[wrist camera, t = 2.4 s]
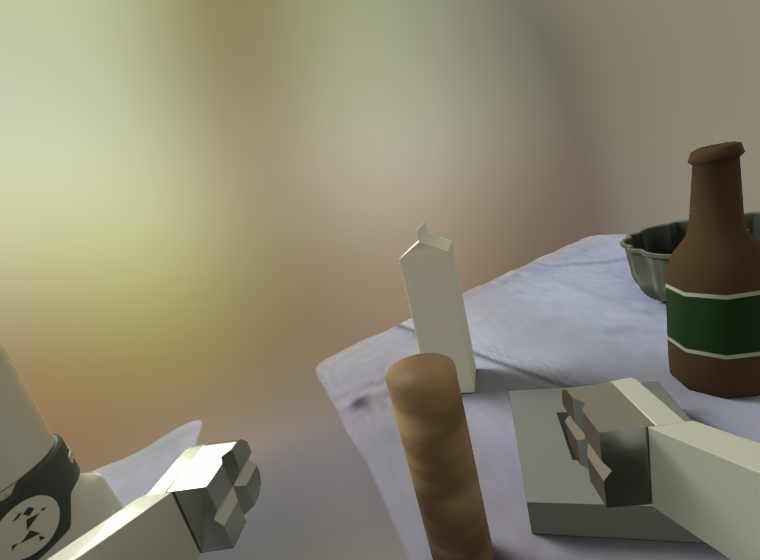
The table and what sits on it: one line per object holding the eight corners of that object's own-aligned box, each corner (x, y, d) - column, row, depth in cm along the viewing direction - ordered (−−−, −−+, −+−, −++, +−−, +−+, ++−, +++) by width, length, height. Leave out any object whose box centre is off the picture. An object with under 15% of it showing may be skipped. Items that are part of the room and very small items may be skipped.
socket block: (532, 533, 27) (526, 502, 26) (512, 413, 40) (508, 390, 39) (766, 546, 22) (768, 509, 22) (659, 407, 35) (658, 381, 35)
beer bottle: (784, 405, 32) (798, 132, 26) (674, 395, 37) (665, 158, 31) (755, 362, 38) (762, 132, 33) (664, 357, 43) (656, 154, 37)
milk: (476, 368, 50) (449, 216, 45) (475, 393, 45) (443, 223, 40) (434, 370, 52) (403, 225, 47) (428, 395, 47) (392, 233, 42)
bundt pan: (624, 272, 72) (621, 224, 69) (824, 261, 56) (829, 199, 54) (623, 328, 51) (618, 263, 49) (935, 336, 36) (951, 242, 34)
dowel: (431, 592, 24) (377, 393, 21) (437, 531, 29) (393, 356, 25) (497, 599, 23) (453, 388, 19) (493, 535, 27) (456, 350, 23)
